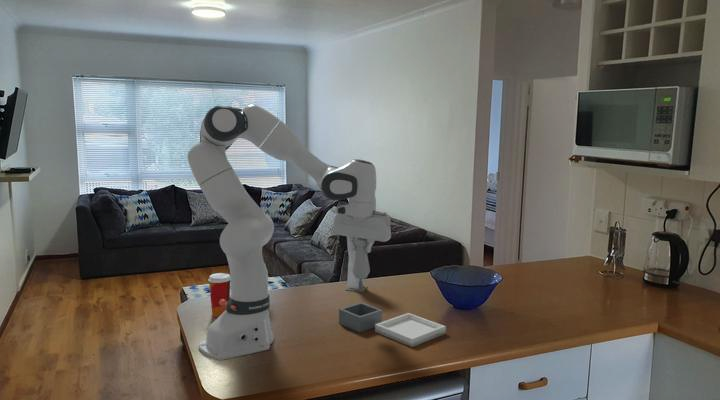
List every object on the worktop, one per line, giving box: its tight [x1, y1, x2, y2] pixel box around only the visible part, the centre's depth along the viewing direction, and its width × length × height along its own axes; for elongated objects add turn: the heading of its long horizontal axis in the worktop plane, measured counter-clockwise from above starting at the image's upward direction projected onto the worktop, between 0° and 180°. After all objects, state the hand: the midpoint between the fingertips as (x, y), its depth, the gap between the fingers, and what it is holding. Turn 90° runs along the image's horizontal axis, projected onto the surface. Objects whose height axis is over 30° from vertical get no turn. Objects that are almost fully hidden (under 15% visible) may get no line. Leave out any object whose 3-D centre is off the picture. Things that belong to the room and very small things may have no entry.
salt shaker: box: [352, 238, 371, 280], centre depth 181 cm, size 6×6×13 cm
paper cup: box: [207, 272, 231, 319], centre depth 190 cm, size 8×8×14 cm
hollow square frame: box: [338, 302, 383, 333], centre depth 184 cm, size 10×10×5 cm
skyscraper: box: [345, 236, 369, 293], centre depth 221 cm, size 8×8×28 cm
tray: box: [374, 312, 447, 348], centre depth 177 cm, size 16×16×2 cm
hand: (361, 251), depth 180 cm, fingers closed on salt shaker, 3 cm apart
